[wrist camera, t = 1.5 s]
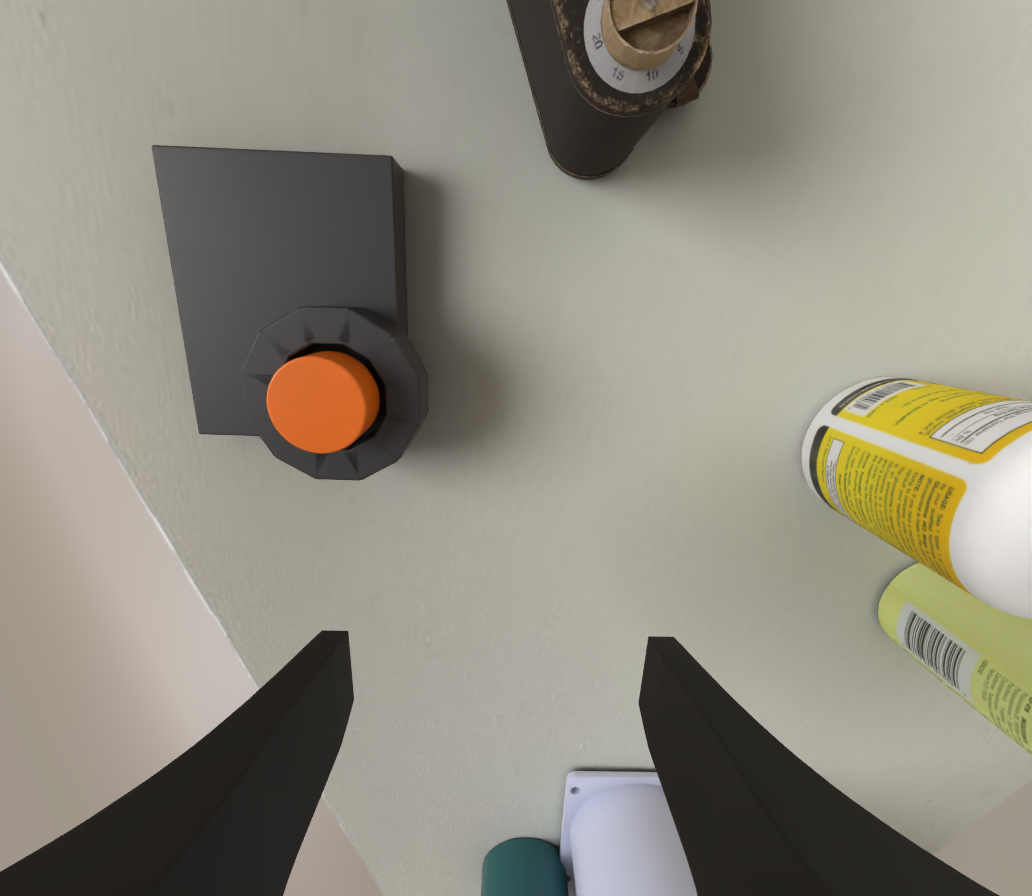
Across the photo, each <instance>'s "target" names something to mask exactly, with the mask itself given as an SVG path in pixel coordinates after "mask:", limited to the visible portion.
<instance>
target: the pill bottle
mask: <svg viewBox="0 0 1032 896" xmlns="http://www.w3.org/2000/svg"><path fill="white" fill-rule="evenodd" d="M801 459H802V468H803V472H804V476H805V478H806V481H807V483H808V485H809V486H810V488H811V489H812V491H813V492H814V493H815V494H816V496H817V497H818V498H820V499H821V500H822V501H823V502H824V503H826V504H827V505H828V506H830V507H831V508H832V509H834V510H835V511H837V512H839V513H840V514H842V515H843V516H845V517H847V518H848V519H850V520H851V521H853V522H854V523H856V524H858V525H859V526H861V527H863V528H864V529H866V530H867V531H869V532H871V533H872V534H874V535H876V536H877V537H879V538H880V539H882V540H884V541H885V542H887V543H889V544H890V545H892V546H893V547H895V548H896V549H898V550H900V551H901V552H903V553H905V554H906V555H908V556H910V557H911V558H913V559H914V560H916V561H918V562H919V563H921V564H922V565H924V566H926V567H927V568H929V569H931V570H932V571H934V572H935V573H937V574H938V575H940V576H942V577H943V578H945V579H946V580H948V581H950V582H951V583H953V584H954V585H956V586H958V587H959V588H961V589H962V590H964V591H966V592H967V593H969V594H970V595H972V596H974V597H975V598H977V599H979V600H981V601H982V602H984V603H986V604H988V605H990V606H992V607H994V608H996V609H998V610H1001V611H1003V612H1005V613H1008V614H1011V615H1015V616H1018V617H1022V618H1027V619H1032V402H1031V401H1025V400H1020V399H1014V398H1009V397H1004V396H998V395H993V394H987V393H983V392H978V391H971V390H966V389H961V388H955V387H950V386H944V385H939V384H934V383H929V382H923V381H917V380H912V379H905V378H897V377H882V378H874V379H869V380H866V381H862V382H860V383H857V384H855V385H853V386H850V387H849V388H847V389H845V390H843V391H842V392H840V393H839V394H837V395H836V396H835V397H833V398H832V399H831V400H830V401H829V402H828V403H827V404H825V406H824V407H823V408H822V409H821V410H820V411H819V412H818V414H817V415H816V416H815V418H814V419H813V421H812V423H811V424H810V426H809V428H808V430H807V433H806V435H805V438H804V441H803V446H802V451H801Z"/></svg>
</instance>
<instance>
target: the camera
mask: <svg viewBox="0 0 1032 896" xmlns="http://www.w3.org/2000/svg"><path fill="white" fill-rule="evenodd" d="M507 4H508V8H509V11H510V15H511V18H512V22H513V26H514V29H515V33H516V37H517V40H518V44H519V47H520V51H521V55H522V58H523V62H524V66H525V69H526V73H527V76H528V80H529V84H530V87H531V91H532V94H533V98H534V102H535V105H536V109H537V113H538V116H539V120H540V123H541V127H542V131H543V134H544V138H545V142H546V145H547V149H548V151H549V154H550V157H551V158H552V160H553V162H554V163H555V165H556V166H557V167H558V168H559V169H560V170H561V171H563V172H564V173H566V174H567V175H569V176H572V177H574V178H578V179H584V180H587V179H596V178H600V177H603V176H605V175H607V174H610V173H611V172H613V171H614V170H615V169H617V168H618V167H619V166H620V165H621V164H622V163H623V162H624V161H625V160H626V159H627V157H628V156H629V155H630V153H631V152H632V150H633V148H634V146H635V145H636V144H637V142H638V141H639V140H640V139H641V138H642V136H643V135H644V134H645V133H646V131H647V130H648V129H649V128H650V126H651V125H652V124H653V123H654V121H655V120H656V119H657V118H658V117H659V115H660V114H661V113H662V112H663V110H664V109H666V108H674V107H678V106H681V105H684V104H686V103H688V102H690V101H693V100H695V99H698V97H699V93H700V92H701V90H702V89H703V87H704V86H705V84H706V82H707V79H708V77H709V74H710V70H711V65H712V49H711V45H710V41H709V39H710V33H711V23H712V20H711V8H710V1H709V0H507Z"/></svg>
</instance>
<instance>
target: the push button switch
mask: <svg viewBox="0 0 1032 896" xmlns="http://www.w3.org/2000/svg"><path fill="white" fill-rule="evenodd" d="M152 151H153V157H154V163H155V169H156V175H157V181H158V187H159V194H160V200H161V206H162V212H163V218H164V224H165V230H166V236H167V242H168V248H169V254H170V260H171V266H172V272H173V278H174V284H175V290H176V296H177V302H178V308H179V315H180V321H181V327H182V333H183V339H184V345H185V351H186V357H187V363H188V369H189V375H190V381H191V387H192V393H193V399H194V405H195V411H196V417H197V423H198V429H199V433H200V434H215V435H247V436H260V437H261V438H262V440H263V441H264V443H265V444H266V445H267V447H268V448H269V450H270V451H271V452H272V454H273V455H274V456H275V457H276V458H278V459H280V460H281V461H283V462H285V463H287V464H289V465H291V466H293V467H294V468H296V469H298V470H300V471H302V472H304V473H306V474H307V475H309V476H311V477H313V478H315V479H331V480H363V479H365V478H366V477H368V476H370V475H372V474H374V473H376V472H378V471H380V470H382V469H384V468H386V467H387V466H389V465H391V464H393V463H395V462H397V461H398V460H399V459H400V458H401V456H402V455H403V454H404V452H405V451H406V449H407V448H408V446H409V445H410V443H411V441H412V440H413V438H414V436H415V435H416V433H417V431H418V429H419V428H420V426H421V424H422V423H423V421H424V419H425V418H426V416H427V413H428V378H427V371H426V368H425V366H424V364H423V363H422V361H421V359H420V358H419V356H418V354H417V352H416V351H415V349H414V347H413V346H412V344H411V342H410V341H409V339H408V326H407V292H406V259H405V226H404V193H403V170H402V168H401V167H400V165H399V164H398V163H397V162H396V160H395V159H394V158H393V157H392V156H386V155H363V154H341V153H318V152H295V151H273V150H250V149H228V148H205V147H183V146H160V145H153V146H152ZM323 351H336V352H341V353H345V354H347V355H350V356H352V357H354V358H355V359H357V360H358V361H360V362H361V363H362V364H363V365H364V366H365V367H366V368H367V369H368V370H369V371H370V372H371V374H372V375H373V377H374V379H375V381H376V383H377V386H378V389H379V394H380V406H379V411H378V415H377V417H376V419H375V421H374V422H373V424H372V425H371V426H370V428H369V429H368V430H367V431H365V432H364V433H363V434H362V435H361V436H360V437H359V438H358V439H357V440H355V441H354V442H353V443H352V444H351V445H349V446H348V447H346V448H344V449H342V450H340V451H337V452H333V453H323V454H321V453H313V452H308V451H305V450H302V449H300V448H298V447H296V446H294V445H293V444H291V443H290V442H288V441H287V440H286V439H285V438H284V437H283V436H282V435H281V434H280V433H279V432H278V431H277V429H276V428H275V426H274V425H273V423H272V421H271V419H270V416H269V413H268V408H267V391H268V386H269V384H270V381H271V379H272V377H273V375H274V374H275V373H276V371H277V370H278V369H279V368H280V367H281V366H282V365H284V364H285V363H287V362H289V361H291V360H293V359H296V358H299V357H302V356H306V355H310V354H314V353H318V352H323Z"/></svg>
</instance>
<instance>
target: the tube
mask: <svg viewBox="0 0 1032 896" xmlns="http://www.w3.org/2000/svg"><path fill="white" fill-rule="evenodd" d="M878 618H879V622H880V625H881V627H882V629H883V630H884V632H885V633H886V634H887V635H888V636H889V637H890V638H891V639H892V640H893V641H894V642H896V643H897V644H898V645H899V646H900V647H901V648H903V649H904V650H905V651H906V652H907V653H909V654H910V655H911V656H912V657H913V658H914V659H916V660H917V661H918V662H919V663H920V664H922V665H923V666H924V667H925V668H926V669H928V670H929V671H930V672H931V673H932V674H934V675H935V676H936V677H937V678H938V679H940V680H941V681H942V682H943V683H944V684H946V685H947V686H948V687H949V688H950V689H952V690H953V691H954V692H955V693H956V694H958V695H959V696H960V697H961V698H962V699H964V700H965V701H966V702H967V703H968V704H970V705H971V706H972V707H973V708H974V709H976V710H977V711H978V712H979V713H980V714H982V715H983V716H984V717H985V718H987V719H988V720H989V721H990V722H991V723H993V724H994V725H995V726H996V727H998V728H999V729H1000V730H1001V731H1003V732H1004V733H1005V734H1006V735H1007V736H1009V737H1010V738H1011V739H1012V740H1014V741H1015V742H1016V743H1017V744H1018V745H1020V746H1021V747H1022V748H1023V749H1025V750H1026V751H1027V752H1028V753H1029V754H1031V755H1032V619H1027V618H1022V617H1018V616H1015V615H1011V614H1008V613H1005V612H1003V611H1001V610H998V609H996V608H994V607H992V606H990V605H988V604H986V603H984V602H982V601H981V600H979V599H977V598H975V597H974V596H972V595H970V594H969V593H967V592H966V591H964V590H962V589H961V588H959V587H958V586H956V585H954V584H953V583H951V582H950V581H948V580H946V579H945V578H943V577H942V576H940V575H938V574H937V573H935V572H934V571H932V570H931V569H929V568H927V567H926V566H924V565H922V564H921V563H917V564H914V565H912V566H910V567H908V568H907V569H905V570H904V571H902V572H901V573H900V574H898V575H897V576H896V577H895V578H894V579H893V580H892V581H891V582H890V584H889V585H888V586H887V587H886V589H885V591H884V593H883V595H882V597H881V600H880V602H879V608H878Z"/></svg>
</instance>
